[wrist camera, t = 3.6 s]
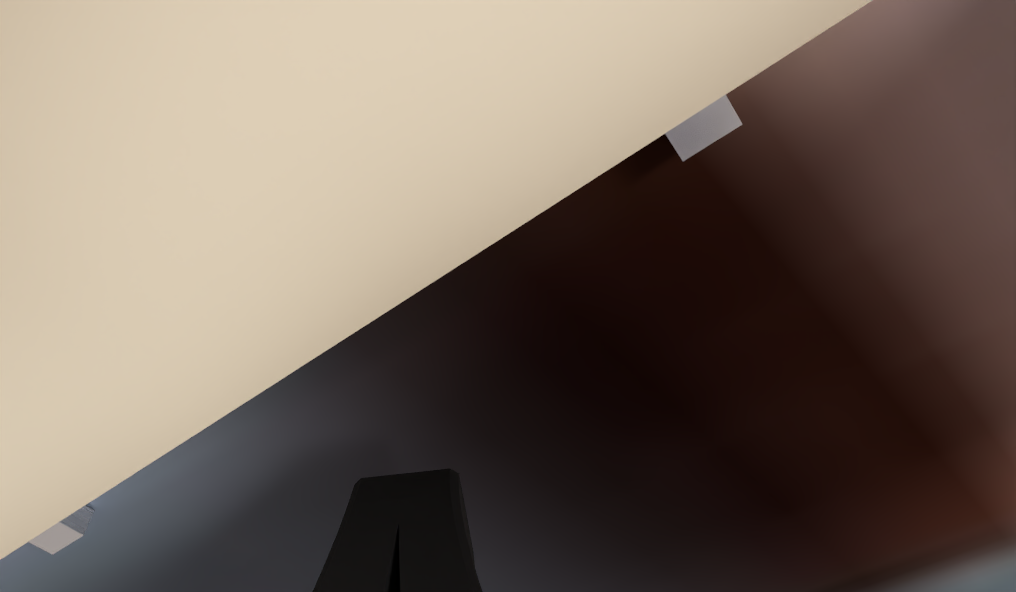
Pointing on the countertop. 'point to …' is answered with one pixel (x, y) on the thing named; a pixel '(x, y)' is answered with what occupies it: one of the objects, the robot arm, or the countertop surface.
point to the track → (686, 143)
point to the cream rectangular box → (291, 186)
